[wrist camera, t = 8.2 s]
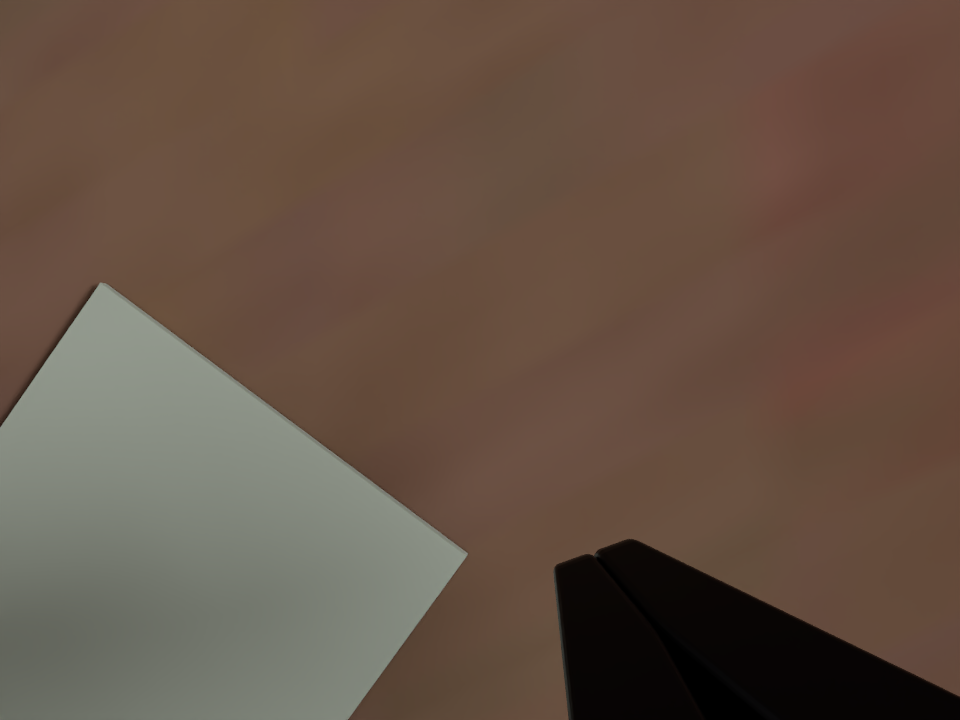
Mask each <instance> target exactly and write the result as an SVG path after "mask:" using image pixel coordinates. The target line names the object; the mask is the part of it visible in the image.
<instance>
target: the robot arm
mask: <svg viewBox="0 0 960 720" xmlns="http://www.w3.org/2000/svg"><path fill="white" fill-rule="evenodd" d="M554 583H555V592H556V602H557V611H558V621H559V631H560V640H561V650H562V659H563V669H564V678H565V688H566V698H567V707H568V717H569V720H960V697H959V696H957V695H955V694H953V693H951V692H949V691H947V690H945V689H943V688H941V687H939V686H937V685H935V684H933V683H931V682H928V681H926V680H924V679H922V678H920V677H918V676H916V675H914V674H912V673H910V672H908V671H906V670H904V669H902V668H900V667H897V666H895V665H893V664H891V663H889V662H887V661H885V660H883V659H881V658H879V657H877V656H875V655H873V654H871V653H869V652H867V651H864V650H862V649H860V648H858V647H856V646H854V645H852V644H850V643H848V642H846V641H844V640H842V639H840V638H838V637H836V636H834V635H831V634H829V633H827V632H825V631H823V630H821V629H819V628H817V627H815V626H813V625H811V624H809V623H807V622H805V621H803V620H800V619H798V618H796V617H794V616H792V615H790V614H788V613H786V612H784V611H782V610H780V609H778V608H776V607H774V606H772V605H770V604H767V603H765V602H763V601H761V600H759V599H757V598H755V597H753V596H751V595H749V594H747V593H745V592H743V591H741V590H739V589H736V588H734V587H732V586H730V585H728V584H726V583H724V582H722V581H720V580H718V579H716V578H714V577H712V576H710V575H708V574H706V573H703V572H701V571H699V570H697V569H695V568H693V567H691V566H689V565H687V564H685V563H683V562H681V561H679V560H677V559H675V558H672V557H670V556H668V555H666V554H664V553H662V552H660V551H658V550H656V549H654V548H652V547H650V546H648V545H646V544H644V543H642V542H639V541H637V540H633V539H627V540H624V541H621V542H618V543H615V544H612V545H610V546H607V547H604V548H601V549H599V550H598V551H597V552H596V553H595V555H594V556H593V555H590V554H585V555H582V556H579V557H576V558H573V559H571V560H568V561H565V562H562V563H559V564H557V565H556V566H555V568H554Z"/></svg>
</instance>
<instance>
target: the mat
mask: <svg viewBox="0 0 960 720" xmlns="http://www.w3.org/2000/svg"><path fill="white" fill-rule="evenodd" d="M467 555H468V553H467V552H465V551H464V550H463V549H461V548H460V547H459V546H457V545H456V544H455V543H453V542H452V541H451V540H449V539H448V538H447V537H445V536H444V535H443V534H441V533H440V532H439V531H437V530H436V529H435V528H433V527H432V526H431V525H429V524H428V523H426V522H425V521H424V520H422V519H421V518H420V517H418V516H417V515H416V514H414V513H413V512H412V511H410V510H409V509H408V508H406V507H405V506H404V505H402V504H401V503H400V502H398V501H397V500H396V499H394V498H393V497H392V496H390V495H389V494H388V493H386V492H385V491H384V490H382V489H381V488H380V487H378V486H377V485H376V484H374V483H373V482H372V481H370V480H369V479H368V478H366V477H365V476H364V475H362V474H361V473H360V472H358V471H357V470H355V469H354V468H353V467H351V466H350V465H349V464H347V463H346V462H345V461H343V460H342V459H341V458H339V457H338V456H337V455H335V454H334V453H333V452H331V451H330V450H329V449H327V448H326V447H325V446H323V445H322V444H321V443H319V442H318V441H317V440H315V439H314V438H313V437H311V436H310V435H309V434H307V433H306V432H305V431H303V430H302V429H301V428H299V427H298V426H297V425H295V424H294V423H293V422H291V421H290V420H288V419H287V418H286V417H284V416H283V415H282V414H280V413H279V412H278V411H276V410H275V409H274V408H272V407H271V406H270V405H268V404H267V403H266V402H264V401H263V400H262V399H260V398H259V397H258V396H256V395H255V394H254V393H252V392H251V391H250V390H248V389H247V388H246V387H244V386H243V385H242V384H240V383H239V382H238V381H236V380H235V379H234V378H232V377H231V376H230V375H228V374H227V373H226V372H224V371H223V370H222V369H220V368H219V367H217V366H216V365H215V364H213V363H212V362H211V361H209V360H208V359H207V358H205V357H204V356H203V355H201V354H200V353H199V352H197V351H196V350H195V349H193V348H192V347H191V346H189V345H188V344H187V343H185V342H184V341H183V340H181V339H180V338H179V337H177V336H176V335H175V334H173V333H172V332H171V331H169V330H168V329H167V328H165V327H164V326H163V325H161V324H160V323H159V322H157V321H156V320H155V319H153V318H152V317H150V316H149V315H148V314H146V313H145V312H144V311H142V310H141V309H140V308H138V307H137V306H136V305H134V304H133V303H132V302H130V301H129V300H128V299H126V298H125V297H124V296H122V295H121V294H120V293H118V292H117V291H116V290H114V289H113V288H112V287H110V286H109V285H108V284H105V283H100V284H99V285H98V287H97V288H96V290H95V291H94V293H93V294H92V296H91V297H90V298H89V300H88V301H87V303H86V304H85V306H84V307H83V309H82V310H81V312H80V313H79V314H78V316H77V317H76V319H75V320H74V322H73V323H72V325H71V326H70V327H69V329H68V330H67V332H66V333H65V335H64V336H63V338H62V339H61V340H60V342H59V343H58V345H57V346H56V348H55V349H54V351H53V352H52V353H51V355H50V356H49V358H48V359H47V361H46V362H45V364H44V365H43V367H42V368H41V369H40V371H39V372H38V374H37V375H36V377H35V378H34V380H33V381H32V382H31V384H30V385H29V387H28V388H27V390H26V391H25V393H24V394H23V395H22V397H21V398H20V400H19V401H18V403H17V404H16V406H15V407H14V408H13V410H12V411H11V413H10V414H9V416H8V417H7V419H6V420H5V421H4V423H3V424H2V426H1V427H0V720H348V719H349V717H350V716H351V715H352V713H353V712H354V710H355V709H356V708H357V706H358V705H359V704H360V702H361V701H362V699H363V698H364V697H365V695H366V694H367V693H368V691H369V690H370V688H371V687H372V686H373V684H374V683H375V682H376V680H377V679H378V677H379V676H380V675H381V673H382V672H383V671H384V669H385V668H386V666H387V665H388V664H389V662H390V661H391V660H392V658H393V657H394V655H395V654H396V653H397V651H398V650H399V649H400V647H401V646H402V644H403V643H404V642H405V640H406V639H407V638H408V636H409V635H410V634H411V632H412V631H413V629H414V628H415V627H416V625H417V624H418V623H419V621H420V620H421V618H422V617H423V616H424V614H425V613H426V612H427V610H428V609H429V607H430V606H431V605H432V603H433V602H434V601H435V599H436V598H437V596H438V595H439V594H440V592H441V591H442V590H443V588H444V587H445V585H446V584H447V583H448V581H449V580H450V579H451V577H452V576H453V574H454V573H455V572H456V570H457V569H458V568H459V566H460V565H461V563H462V562H463V561H464V559H465V558H466V557H467Z"/></svg>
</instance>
